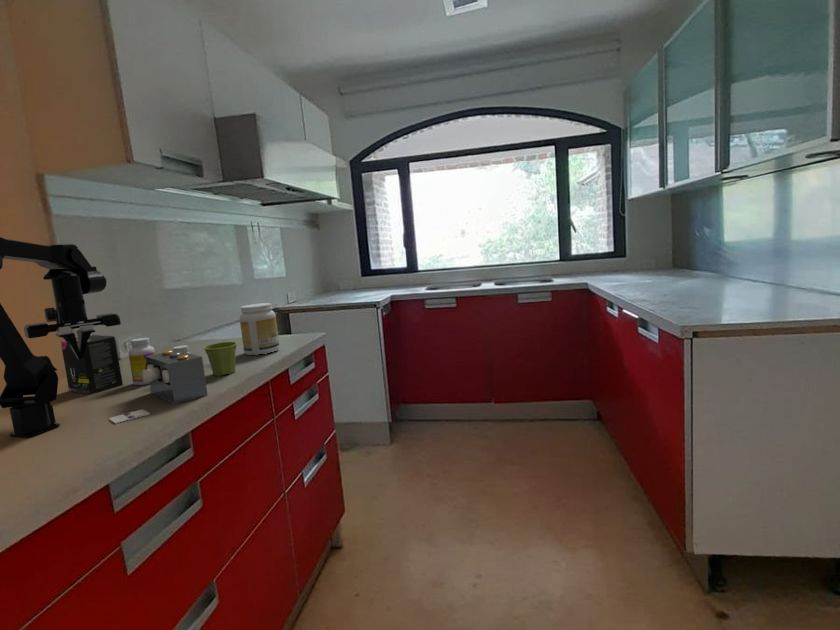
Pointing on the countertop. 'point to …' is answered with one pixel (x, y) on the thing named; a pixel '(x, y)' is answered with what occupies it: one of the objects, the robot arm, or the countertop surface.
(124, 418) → the card
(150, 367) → the button
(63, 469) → the countertop surface
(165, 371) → the button
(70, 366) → the tampon box
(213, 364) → the plant pot
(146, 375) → the button
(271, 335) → the supplement tub
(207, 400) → the countertop surface
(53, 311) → the robot arm
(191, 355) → the console
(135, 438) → the countertop surface
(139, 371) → the supplement bottle
